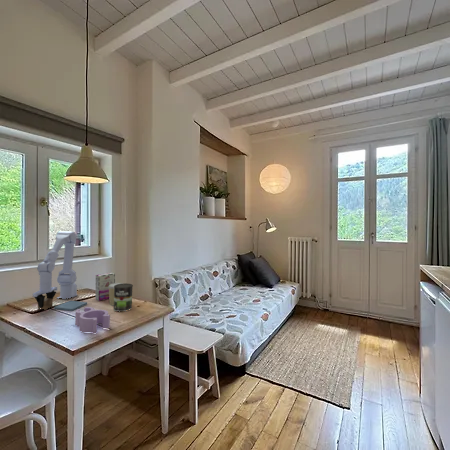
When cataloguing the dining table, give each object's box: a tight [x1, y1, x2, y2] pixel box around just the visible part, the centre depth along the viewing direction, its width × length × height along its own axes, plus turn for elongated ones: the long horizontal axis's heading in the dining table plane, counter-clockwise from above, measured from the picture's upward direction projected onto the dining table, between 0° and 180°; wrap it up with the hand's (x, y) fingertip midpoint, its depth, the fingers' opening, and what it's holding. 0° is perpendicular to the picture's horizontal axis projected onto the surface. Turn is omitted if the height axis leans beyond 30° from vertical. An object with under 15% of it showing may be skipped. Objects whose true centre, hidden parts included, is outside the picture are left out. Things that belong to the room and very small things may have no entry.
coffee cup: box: [108, 282, 124, 307], centre depth 160 cm, size 9×9×12 cm
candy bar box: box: [95, 272, 116, 302], centre depth 169 cm, size 11×5×16 cm, turn 143°
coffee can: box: [113, 282, 134, 313], centre depth 151 cm, size 10×10×14 cm
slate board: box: [53, 300, 88, 312], centre depth 152 cm, size 12×12×1 cm
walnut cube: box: [37, 297, 54, 311], centre depth 148 cm, size 5×5×5 cm
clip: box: [74, 306, 111, 334], centre depth 126 cm, size 20×12×7 cm, turn 56°
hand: (45, 305), depth 148 cm, fingers closed on walnut cube, 5 cm apart
